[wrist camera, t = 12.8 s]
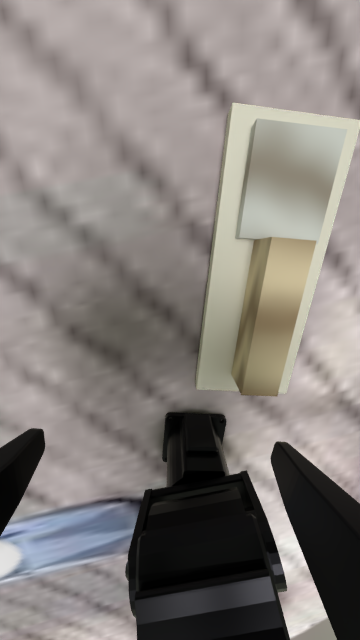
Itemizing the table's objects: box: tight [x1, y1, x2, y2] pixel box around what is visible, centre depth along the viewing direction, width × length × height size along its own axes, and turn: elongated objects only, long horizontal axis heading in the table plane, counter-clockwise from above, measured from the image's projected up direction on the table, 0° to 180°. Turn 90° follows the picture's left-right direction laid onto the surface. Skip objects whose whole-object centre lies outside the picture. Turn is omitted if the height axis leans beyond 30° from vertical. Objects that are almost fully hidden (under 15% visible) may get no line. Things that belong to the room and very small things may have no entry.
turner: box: [231, 118, 347, 396], centre depth 15 cm, size 19×6×3 cm, turn 176°
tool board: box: [195, 103, 360, 394], centre depth 18 cm, size 22×9×1 cm, turn 175°
